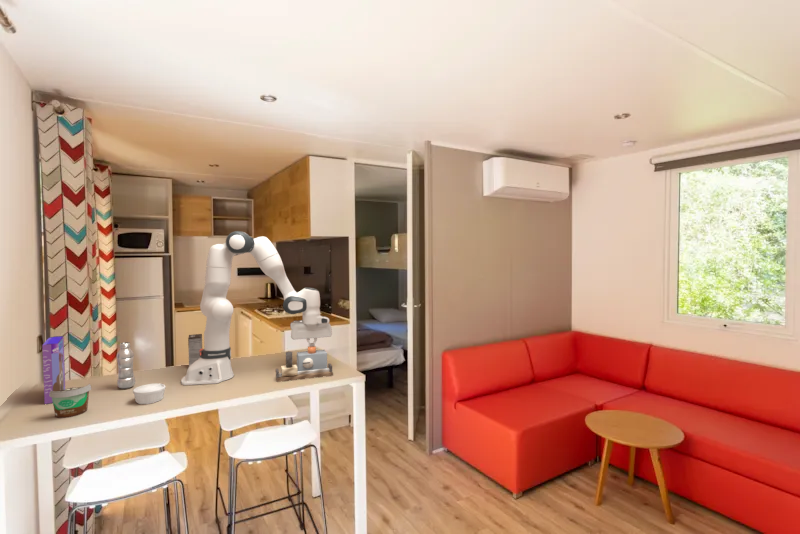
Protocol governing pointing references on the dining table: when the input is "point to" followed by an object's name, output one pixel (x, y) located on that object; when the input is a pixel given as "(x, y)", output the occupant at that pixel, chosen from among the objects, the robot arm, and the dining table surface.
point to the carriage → (289, 366)
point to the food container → (70, 401)
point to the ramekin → (149, 393)
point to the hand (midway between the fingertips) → (311, 346)
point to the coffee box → (194, 347)
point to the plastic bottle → (125, 366)
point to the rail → (305, 374)
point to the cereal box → (53, 366)
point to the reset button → (311, 350)
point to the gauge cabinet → (311, 360)
